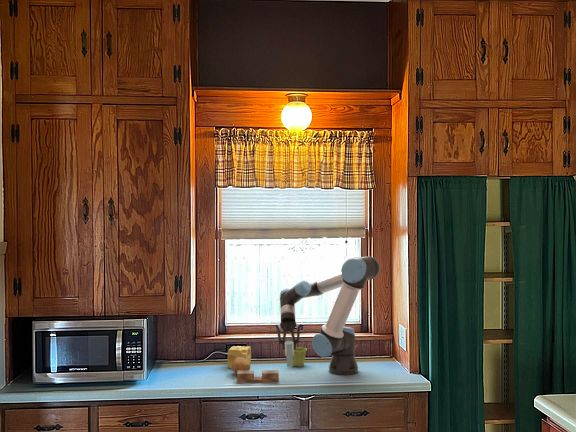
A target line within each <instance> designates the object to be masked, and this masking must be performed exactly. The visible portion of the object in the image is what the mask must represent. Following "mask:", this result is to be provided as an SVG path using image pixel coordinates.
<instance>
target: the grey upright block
mask: <svg viewBox="0 0 576 432" xmlns="http://www.w3.org/2000/svg"><path fill="white" fill-rule="evenodd" d="M285 342H286V349H287V356H286V367H287V368H289V367H290V368H293V367H294V366H293V355H292V342H293V340H285Z"/></svg>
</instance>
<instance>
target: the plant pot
mask: <svg viewBox="0 0 576 432" xmlns="http://www.w3.org/2000/svg"><path fill="white" fill-rule="evenodd" d="M307 350H308V348H305V347H296V349H294V356H293V367H298V368H299V367H303V366H304V365H305V360H306V359H305V357H306V353H307Z"/></svg>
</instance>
